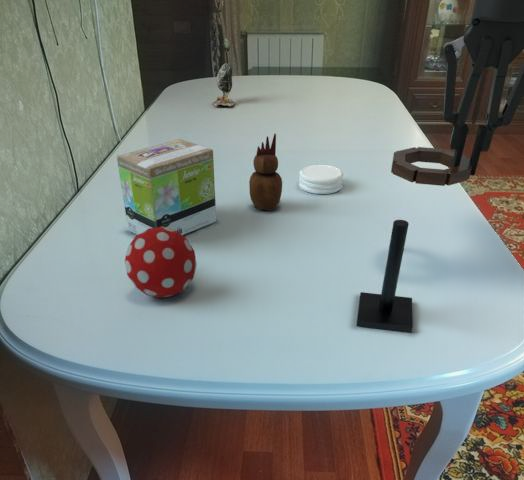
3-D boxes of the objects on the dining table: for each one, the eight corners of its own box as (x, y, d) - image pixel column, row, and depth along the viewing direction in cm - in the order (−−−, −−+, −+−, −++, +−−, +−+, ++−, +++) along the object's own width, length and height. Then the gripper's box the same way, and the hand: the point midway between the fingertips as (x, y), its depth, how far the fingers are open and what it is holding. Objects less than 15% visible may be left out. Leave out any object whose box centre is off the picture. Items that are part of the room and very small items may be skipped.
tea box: (159, 248, 94) (148, 168, 85) (127, 231, 99) (113, 155, 90) (218, 222, 103) (214, 147, 93) (186, 208, 108) (178, 136, 99)
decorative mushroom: (138, 211, 86) (144, 215, 73) (197, 240, 90) (213, 249, 77) (112, 270, 88) (113, 285, 74) (171, 296, 92) (182, 314, 78)
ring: (465, 161, 82) (468, 150, 81) (471, 188, 74) (474, 176, 72) (392, 156, 84) (394, 145, 83) (390, 181, 76) (392, 169, 74)
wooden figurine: (283, 203, 110) (285, 131, 100) (278, 214, 105) (279, 139, 96) (253, 200, 111) (252, 128, 101) (247, 211, 107) (245, 137, 97)
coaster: (345, 194, 113) (347, 178, 111) (301, 195, 113) (302, 180, 111) (337, 178, 121) (339, 163, 119) (296, 179, 121) (297, 164, 118)
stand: (411, 302, 80) (430, 212, 70) (411, 332, 74) (433, 238, 64) (359, 297, 81) (372, 208, 72) (356, 326, 75) (369, 233, 66)
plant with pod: (240, 101, 179) (238, 35, 166) (231, 109, 171) (228, 40, 158) (218, 99, 181) (214, 34, 168) (208, 107, 172) (203, 39, 159)
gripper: (568, -18, 64) (510, 167, 79) (447, -21, 67) (413, 159, 82) (582, -14, 59) (517, 184, 74) (450, -17, 61) (413, 175, 76)
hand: (462, 171), depth 78 cm, fingers closed on ring, 2 cm apart
